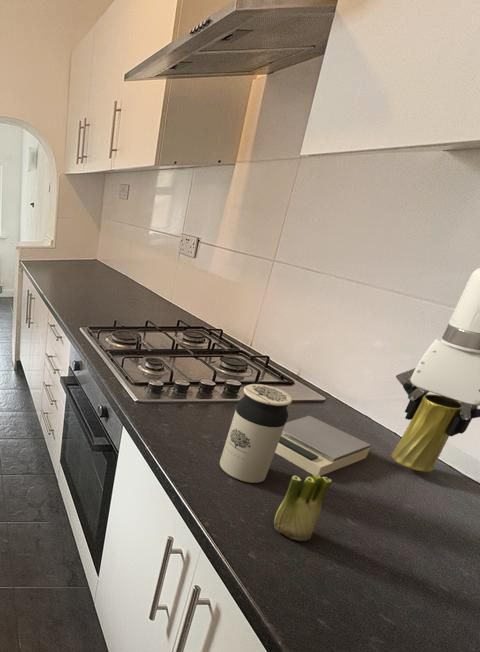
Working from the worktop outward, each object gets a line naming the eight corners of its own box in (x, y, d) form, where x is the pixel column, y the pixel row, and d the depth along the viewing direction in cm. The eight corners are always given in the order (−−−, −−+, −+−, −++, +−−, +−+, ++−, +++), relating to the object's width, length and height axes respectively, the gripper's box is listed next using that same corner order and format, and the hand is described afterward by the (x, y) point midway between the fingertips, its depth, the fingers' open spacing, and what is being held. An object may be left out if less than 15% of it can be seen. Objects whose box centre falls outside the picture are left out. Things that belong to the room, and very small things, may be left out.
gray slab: (308, 418, 96) (309, 415, 96) (369, 447, 86) (371, 444, 86) (273, 429, 92) (274, 426, 92) (333, 461, 82) (334, 458, 82)
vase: (386, 449, 87) (415, 390, 81) (427, 458, 84) (460, 397, 78) (395, 465, 82) (426, 404, 76) (438, 476, 79) (474, 413, 73)
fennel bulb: (269, 535, 69) (292, 478, 64) (268, 515, 73) (289, 461, 68) (313, 550, 66) (340, 492, 62) (309, 529, 70) (334, 473, 65)
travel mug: (246, 457, 88) (272, 382, 80) (274, 483, 81) (305, 403, 73) (210, 458, 87) (233, 383, 80) (235, 485, 80) (262, 405, 73)
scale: (305, 428, 98) (309, 416, 96) (365, 458, 87) (371, 446, 86) (258, 443, 92) (262, 431, 91) (317, 477, 82) (322, 464, 81)
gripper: (563, 352, 66) (506, 445, 74) (423, 320, 81) (387, 401, 88) (540, 360, 64) (485, 456, 71) (400, 326, 79) (366, 408, 86)
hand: (431, 424), depth 80 cm, fingers closed on vase, 5 cm apart
